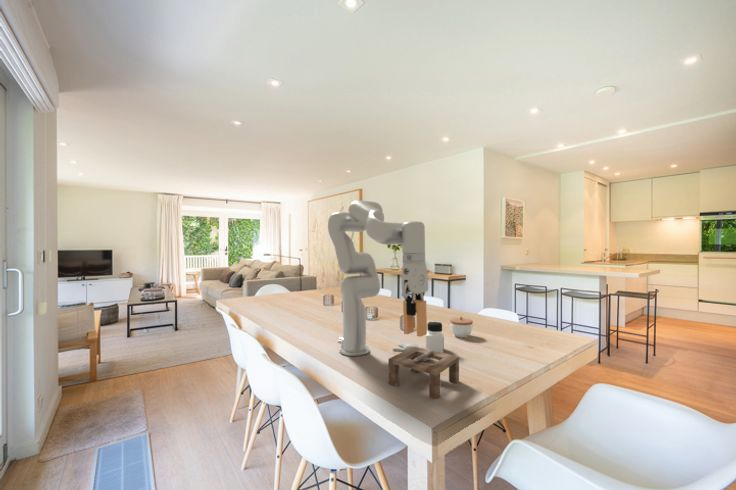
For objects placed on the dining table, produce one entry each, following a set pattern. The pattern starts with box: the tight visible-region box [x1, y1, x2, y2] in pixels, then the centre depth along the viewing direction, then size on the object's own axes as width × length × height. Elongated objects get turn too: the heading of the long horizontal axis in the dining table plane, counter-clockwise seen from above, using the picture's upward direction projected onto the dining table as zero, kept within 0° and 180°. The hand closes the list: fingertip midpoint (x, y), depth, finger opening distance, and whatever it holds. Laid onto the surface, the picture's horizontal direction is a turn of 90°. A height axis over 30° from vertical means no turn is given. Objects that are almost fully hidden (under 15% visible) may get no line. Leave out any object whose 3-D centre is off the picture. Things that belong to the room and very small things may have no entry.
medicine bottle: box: [425, 320, 445, 353], centre depth 137 cm, size 7×7×12 cm
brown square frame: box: [388, 347, 460, 400], centre depth 105 cm, size 17×16×9 cm
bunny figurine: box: [392, 343, 432, 363], centre depth 128 cm, size 10×5×15 cm
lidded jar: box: [449, 316, 474, 338], centre depth 159 cm, size 11×11×9 cm
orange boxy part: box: [402, 299, 428, 338], centre depth 107 cm, size 6×4×11 cm, turn 51°
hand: (414, 313), depth 107 cm, fingers closed on orange boxy part, 4 cm apart
